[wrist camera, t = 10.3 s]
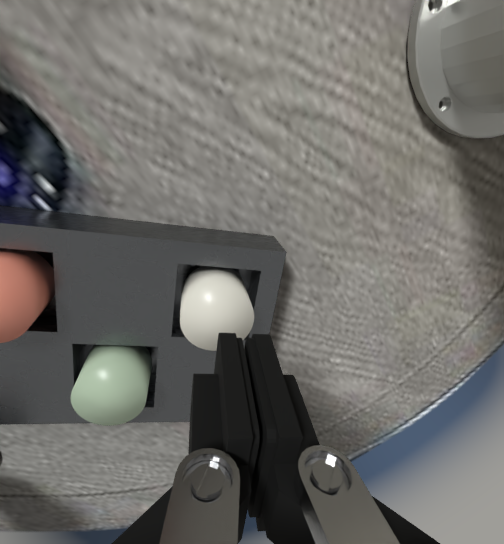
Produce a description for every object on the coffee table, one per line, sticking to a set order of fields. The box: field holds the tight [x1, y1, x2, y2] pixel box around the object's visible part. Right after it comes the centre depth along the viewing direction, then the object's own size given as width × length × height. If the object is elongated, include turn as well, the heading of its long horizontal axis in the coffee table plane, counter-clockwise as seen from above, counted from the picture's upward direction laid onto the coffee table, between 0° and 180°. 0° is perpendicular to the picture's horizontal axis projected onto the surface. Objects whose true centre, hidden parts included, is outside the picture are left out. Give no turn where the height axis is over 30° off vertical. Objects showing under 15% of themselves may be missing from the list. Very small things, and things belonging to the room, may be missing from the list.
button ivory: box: [180, 266, 254, 351], centre depth 21 cm, size 4×4×4 cm
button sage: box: [71, 345, 152, 426], centre depth 22 cm, size 4×4×4 cm
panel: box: [0, 206, 286, 424], centre depth 23 cm, size 20×14×4 cm
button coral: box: [0, 248, 55, 343], centre depth 19 cm, size 4×4×4 cm
